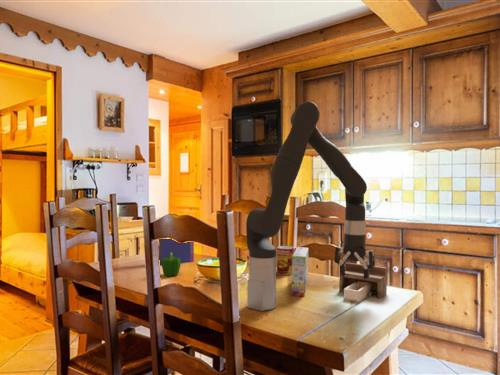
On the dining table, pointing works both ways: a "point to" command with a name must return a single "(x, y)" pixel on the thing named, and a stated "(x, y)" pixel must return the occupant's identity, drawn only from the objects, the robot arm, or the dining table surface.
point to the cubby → (357, 274)
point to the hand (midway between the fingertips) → (353, 277)
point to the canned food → (284, 260)
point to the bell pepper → (171, 265)
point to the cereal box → (176, 250)
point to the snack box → (299, 271)
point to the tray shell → (357, 291)
